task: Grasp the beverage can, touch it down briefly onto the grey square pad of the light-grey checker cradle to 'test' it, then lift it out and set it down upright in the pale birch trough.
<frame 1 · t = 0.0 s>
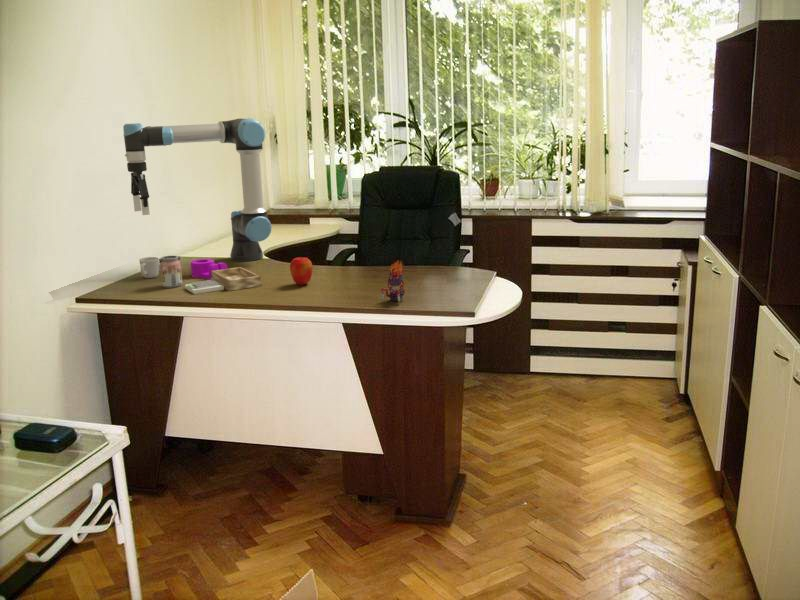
hand: (141, 212, 330), 28 cm above the table, fingers open, 13 cm apart
checker base: (204, 288, 315), on the table
apple: (302, 284, 318), on the table
grey square pad: (204, 284, 315), point 2 cm above the table, slide at -1.5 cm, touching checker base
cup: (149, 278, 338), on the table
magenta pipe bracket: (208, 276, 339), on the table
trough board: (236, 283, 324), on the table
beverage can: (172, 286, 322), on the table
figurine: (393, 301, 289), on the table
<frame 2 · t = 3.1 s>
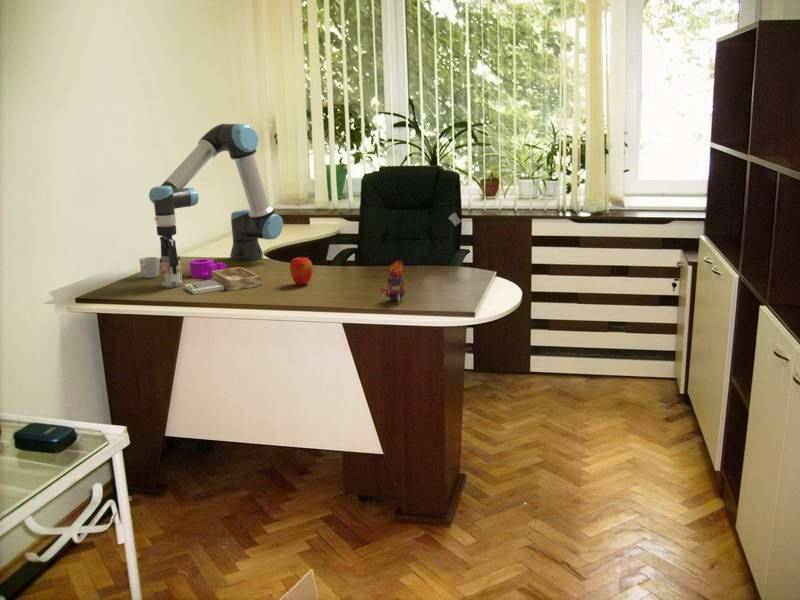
hand: (171, 279, 322), 3 cm above the table, fingers closed on beverage can, 9 cm apart
beverage can: (172, 286, 322), on the table, touching gripper
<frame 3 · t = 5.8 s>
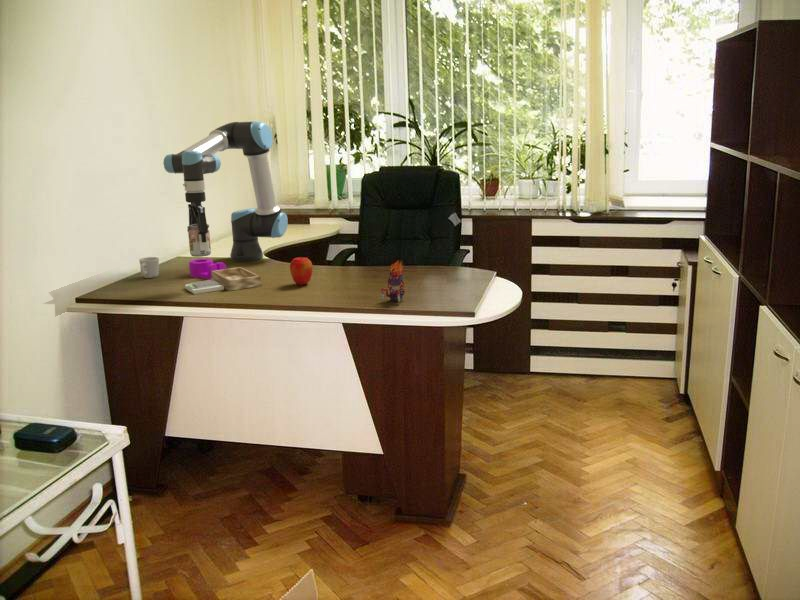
hand: (200, 248, 311), 17 cm above the table, fingers closed on beverage can, 9 cm apart
beverage can: (200, 255, 312), point 14 cm above the table, touching gripper
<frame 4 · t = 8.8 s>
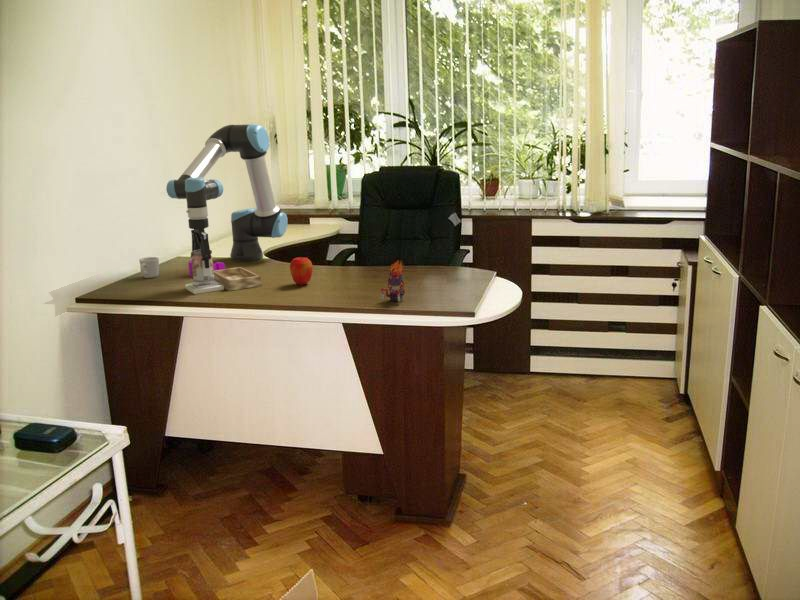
hand: (203, 273, 314), 6 cm above the table, fingers closed on beverage can, 9 cm apart
beverage can: (203, 280, 314), point 3 cm above the table, touching gripper
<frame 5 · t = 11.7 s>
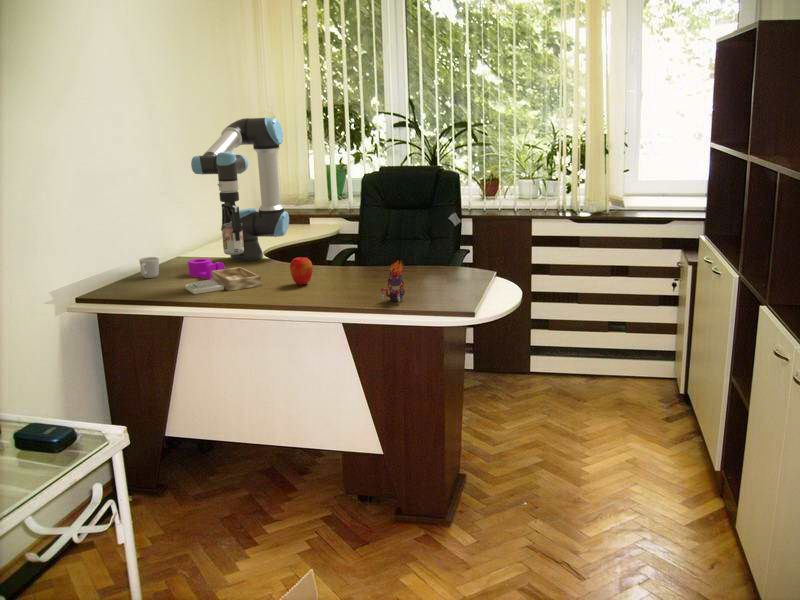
hand: (233, 246, 320), 15 cm above the table, fingers closed on beverage can, 9 cm apart
beverage can: (233, 253, 320), point 12 cm above the table, touching gripper
when the fingers open (4 cm above the table, at t = 14.5 s): beverage can stays where it is, resting on trough board.
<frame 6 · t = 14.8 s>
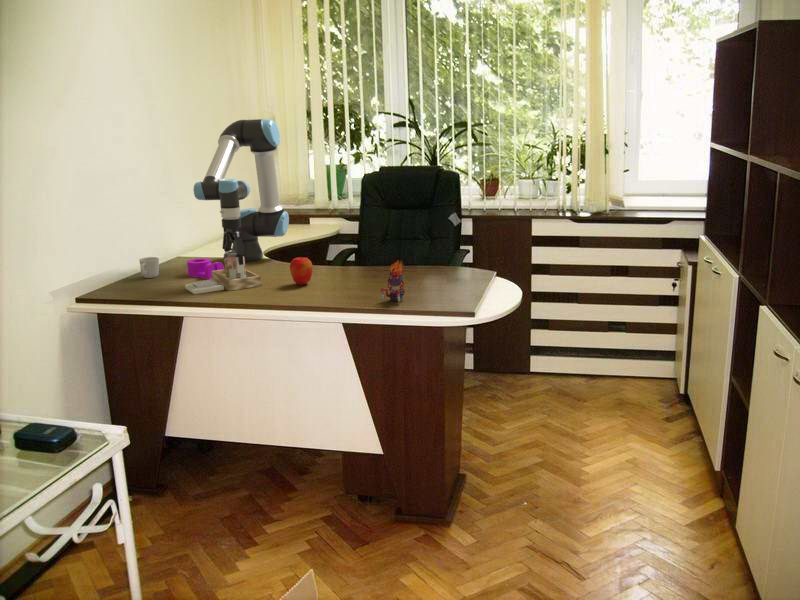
hand: (235, 269, 322), 6 cm above the table, fingers open, 13 cm apart
beverage can: (236, 281, 323), point 1 cm above the table, touching trough board
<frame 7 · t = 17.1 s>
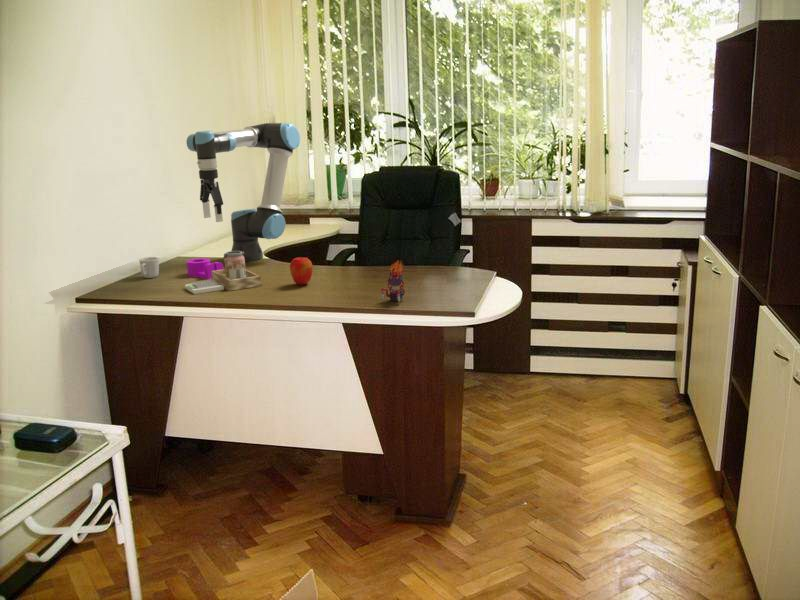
hand: (213, 219, 333), 24 cm above the table, fingers open, 13 cm apart
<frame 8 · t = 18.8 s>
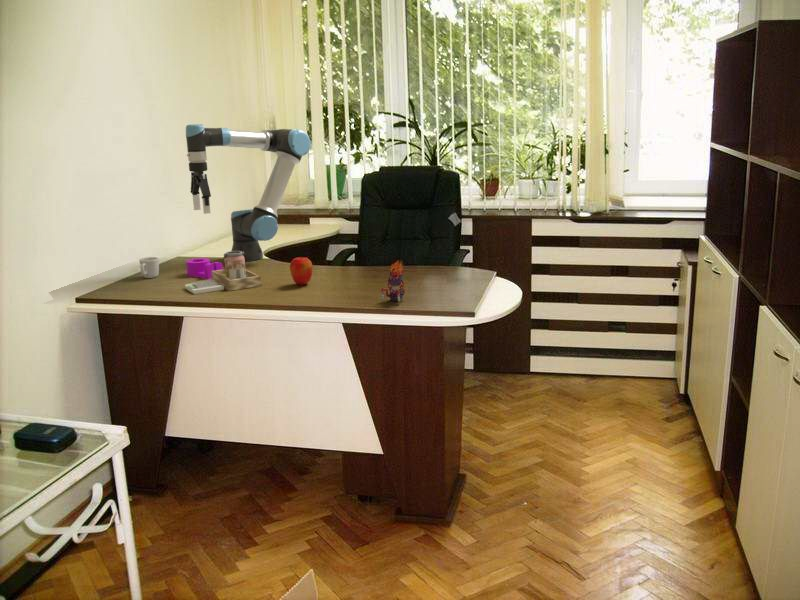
hand: (202, 211, 339), 27 cm above the table, fingers open, 13 cm apart
at the end: beverage can inside the target area on the trough board (0.2 cm from its centre), point 0.8 cm above the trough board's base; beverage can tilted 0°; beverage can touching trough board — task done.
